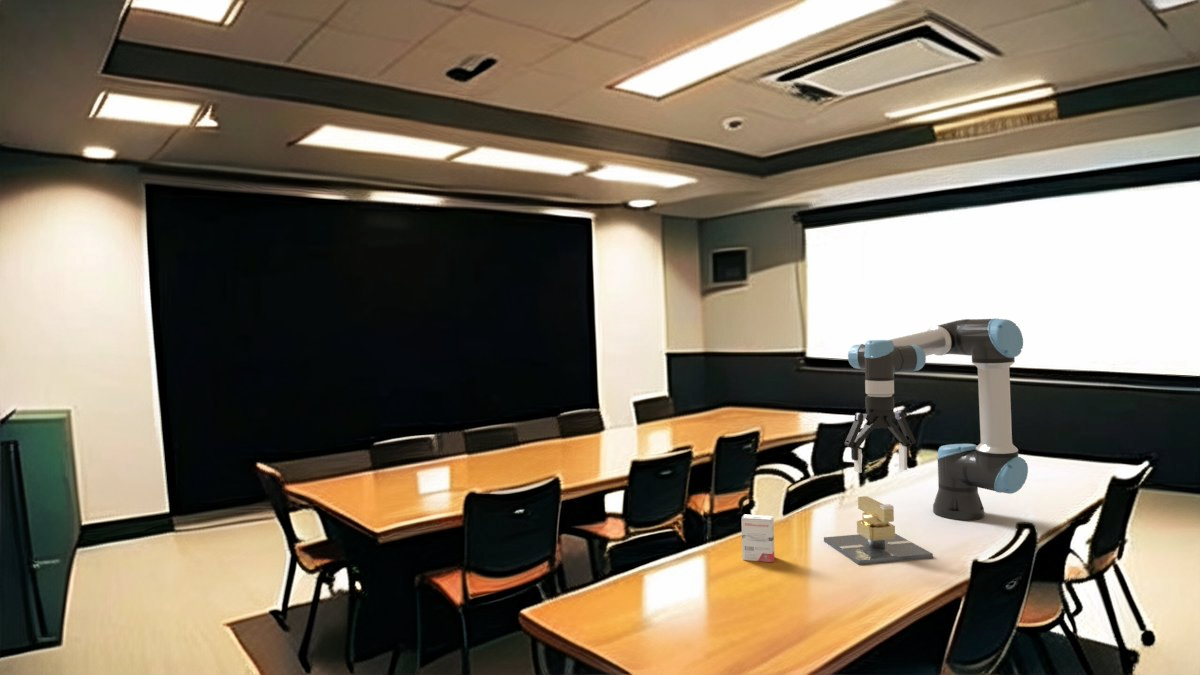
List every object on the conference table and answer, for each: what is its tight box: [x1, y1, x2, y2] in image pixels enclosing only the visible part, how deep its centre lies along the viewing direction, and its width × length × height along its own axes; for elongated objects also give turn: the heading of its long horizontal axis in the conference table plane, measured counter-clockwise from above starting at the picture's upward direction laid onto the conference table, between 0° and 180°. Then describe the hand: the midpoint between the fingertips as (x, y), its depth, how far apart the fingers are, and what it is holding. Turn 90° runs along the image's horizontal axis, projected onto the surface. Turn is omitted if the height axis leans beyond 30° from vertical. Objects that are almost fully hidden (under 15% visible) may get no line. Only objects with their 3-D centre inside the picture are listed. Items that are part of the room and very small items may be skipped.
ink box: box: [741, 513, 775, 563], centre depth 195 cm, size 9×5×12 cm, turn 71°
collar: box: [856, 495, 896, 541], centre depth 199 cm, size 8×14×10 cm, turn 9°
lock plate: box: [823, 526, 934, 566], centre depth 199 cm, size 22×20×7 cm
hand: (880, 470), depth 195 cm, fingers open, 13 cm apart
